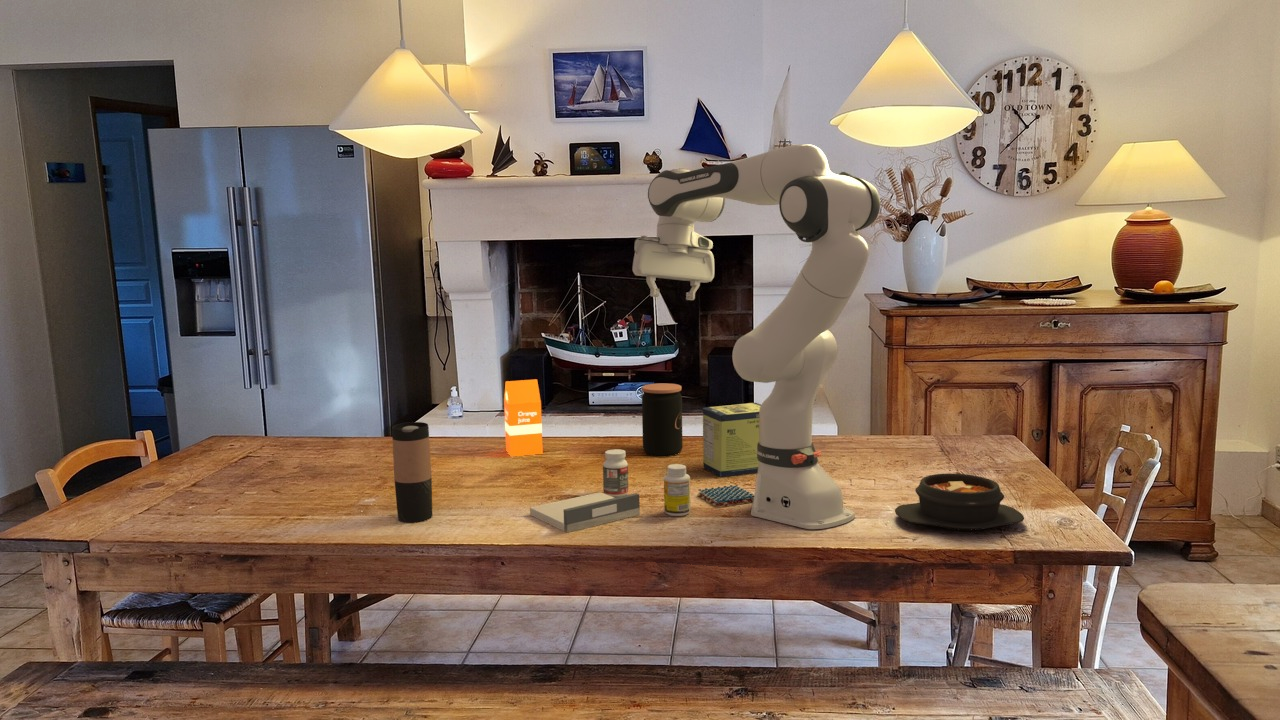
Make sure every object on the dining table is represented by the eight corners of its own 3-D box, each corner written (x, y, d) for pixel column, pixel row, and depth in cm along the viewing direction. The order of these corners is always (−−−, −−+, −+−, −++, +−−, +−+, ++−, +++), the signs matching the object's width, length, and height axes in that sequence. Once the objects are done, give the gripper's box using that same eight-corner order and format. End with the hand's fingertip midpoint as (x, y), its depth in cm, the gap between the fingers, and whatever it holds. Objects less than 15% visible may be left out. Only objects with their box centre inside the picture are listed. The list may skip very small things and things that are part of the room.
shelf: (640, 515, 197) (639, 494, 196) (567, 532, 186) (567, 511, 186) (600, 499, 209) (599, 479, 208) (530, 514, 198) (529, 494, 198)
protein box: (776, 470, 230) (777, 409, 228) (720, 478, 224) (720, 414, 222) (756, 461, 240) (756, 401, 237) (701, 468, 234) (701, 407, 232)
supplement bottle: (670, 507, 201) (669, 462, 200) (694, 510, 199) (693, 464, 198) (660, 515, 196) (659, 468, 195) (684, 518, 194) (684, 470, 193)
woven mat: (716, 510, 201) (716, 501, 200) (695, 497, 210) (695, 488, 210) (759, 504, 204) (759, 495, 204) (736, 492, 214) (736, 483, 214)
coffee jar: (683, 457, 245) (682, 389, 242) (642, 457, 245) (641, 390, 243) (682, 447, 256) (681, 382, 253) (643, 447, 256) (642, 383, 253)
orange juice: (505, 451, 255) (502, 379, 252) (537, 448, 258) (534, 377, 255) (510, 457, 248) (507, 383, 245) (543, 454, 250) (540, 381, 247)
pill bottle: (625, 498, 209) (624, 455, 208) (600, 497, 210) (599, 454, 209) (630, 491, 215) (629, 449, 213) (606, 490, 216) (605, 448, 214)
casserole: (907, 538, 180) (908, 496, 178) (885, 509, 198) (886, 470, 197) (1038, 537, 179) (1040, 495, 177) (1004, 508, 197) (1005, 469, 196)
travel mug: (418, 510, 203) (413, 420, 200) (441, 516, 198) (436, 424, 196) (389, 518, 197) (383, 426, 194) (411, 525, 193) (406, 431, 190)
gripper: (641, 232, 212) (638, 293, 211) (718, 242, 220) (716, 300, 220) (629, 236, 217) (626, 295, 217) (705, 246, 226) (703, 302, 226)
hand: (672, 298), depth 218 cm, fingers open, 8 cm apart
